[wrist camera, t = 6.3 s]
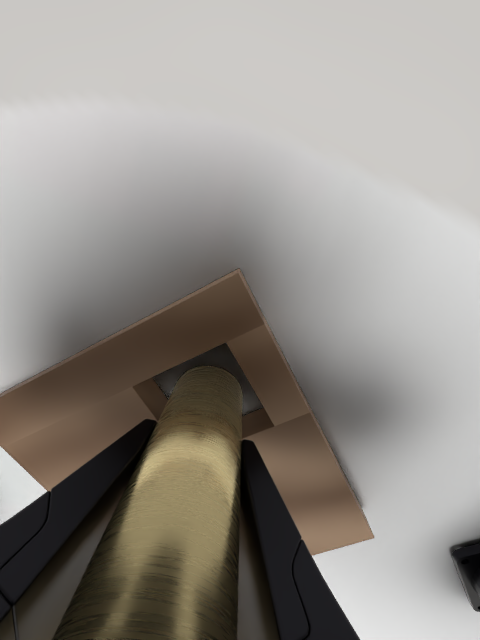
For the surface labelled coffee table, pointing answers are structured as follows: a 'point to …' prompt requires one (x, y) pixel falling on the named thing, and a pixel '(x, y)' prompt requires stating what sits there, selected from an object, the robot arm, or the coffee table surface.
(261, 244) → the coffee table surface
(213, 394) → the brass pin
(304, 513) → the pin board
